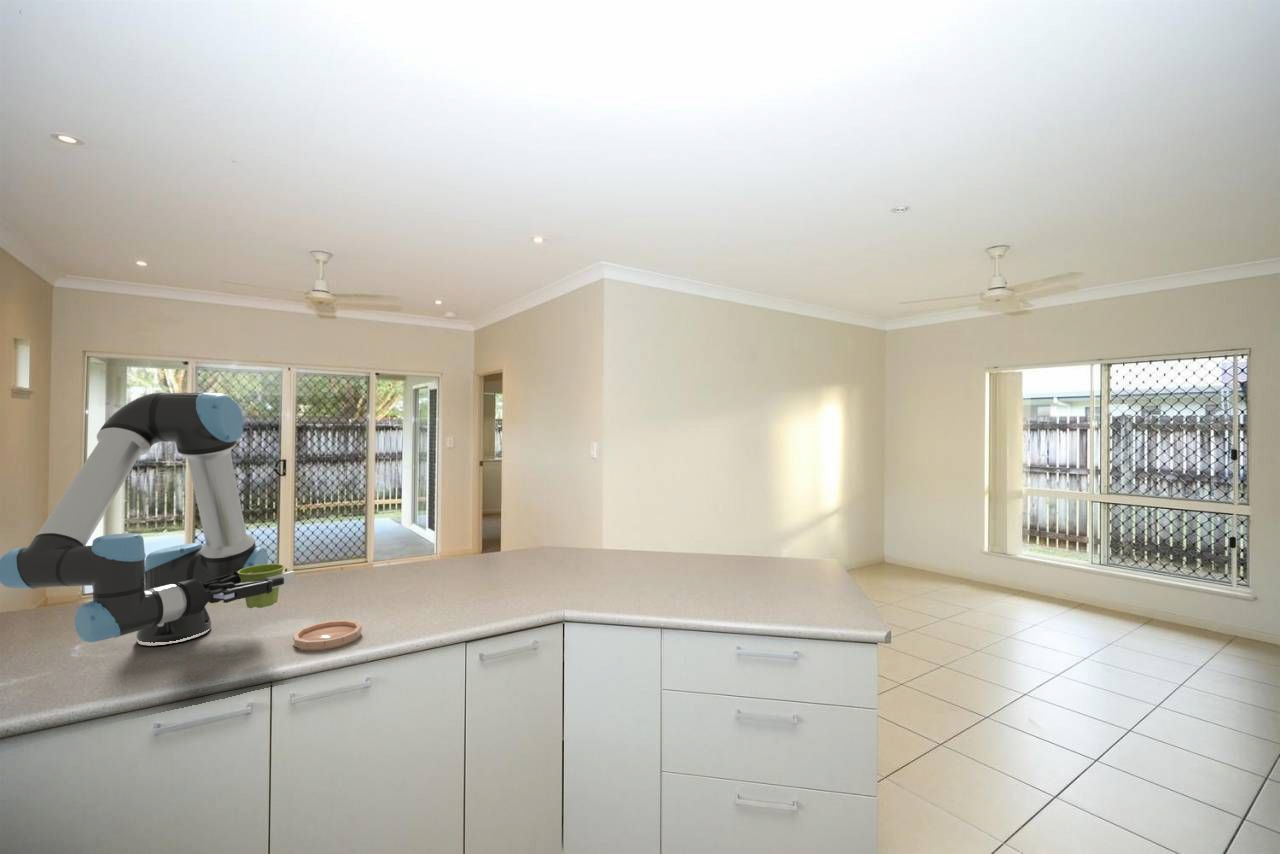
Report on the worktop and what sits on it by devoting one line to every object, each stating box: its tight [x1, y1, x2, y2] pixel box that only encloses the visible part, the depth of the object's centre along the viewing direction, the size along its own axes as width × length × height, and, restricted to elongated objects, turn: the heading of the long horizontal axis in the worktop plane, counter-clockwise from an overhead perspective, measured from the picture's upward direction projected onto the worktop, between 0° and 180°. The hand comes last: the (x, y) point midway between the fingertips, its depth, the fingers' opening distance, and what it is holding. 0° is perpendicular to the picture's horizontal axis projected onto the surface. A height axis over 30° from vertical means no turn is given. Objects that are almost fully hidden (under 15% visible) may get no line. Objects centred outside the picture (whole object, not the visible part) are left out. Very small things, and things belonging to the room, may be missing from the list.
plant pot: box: [237, 563, 286, 609], centre depth 137 cm, size 9×9×9 cm
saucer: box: [292, 619, 363, 652], centre depth 147 cm, size 15×15×2 cm
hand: (280, 574), depth 141 cm, fingers closed on plant pot, 8 cm apart
